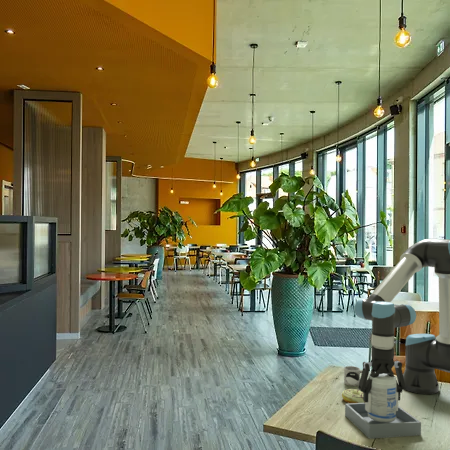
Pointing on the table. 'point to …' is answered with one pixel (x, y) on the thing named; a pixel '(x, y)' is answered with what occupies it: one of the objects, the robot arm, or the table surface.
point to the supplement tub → (383, 398)
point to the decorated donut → (353, 396)
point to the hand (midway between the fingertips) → (381, 410)
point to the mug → (352, 375)
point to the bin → (382, 423)
